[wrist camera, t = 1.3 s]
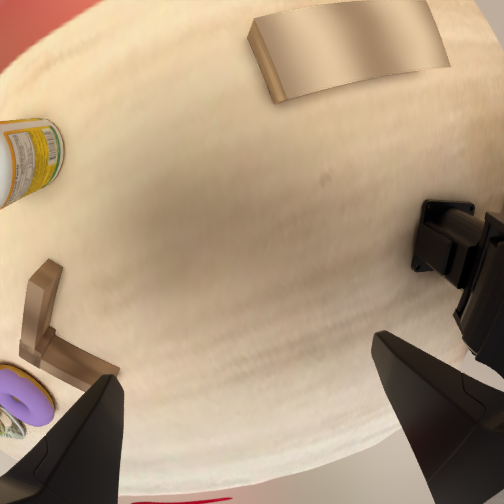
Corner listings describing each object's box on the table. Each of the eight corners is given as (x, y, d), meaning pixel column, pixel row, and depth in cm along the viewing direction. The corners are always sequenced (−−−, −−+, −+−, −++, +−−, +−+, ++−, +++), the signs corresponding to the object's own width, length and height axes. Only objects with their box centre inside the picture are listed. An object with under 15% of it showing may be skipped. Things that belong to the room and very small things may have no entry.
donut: (68, 399, 27) (55, 432, 23) (50, 409, 31) (39, 435, 27) (2, 347, 23) (-17, 378, 19) (-5, 366, 27) (-19, 391, 23)
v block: (57, 255, 20) (37, 276, 17) (124, 375, 26) (117, 401, 23) (0, 275, 20) (-19, 295, 17) (66, 380, 26) (56, 403, 23)
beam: (395, 11, 15) (424, -2, 11) (417, 70, 17) (450, 66, 13) (246, 35, 16) (252, 15, 12) (274, 103, 18) (287, 99, 14)
